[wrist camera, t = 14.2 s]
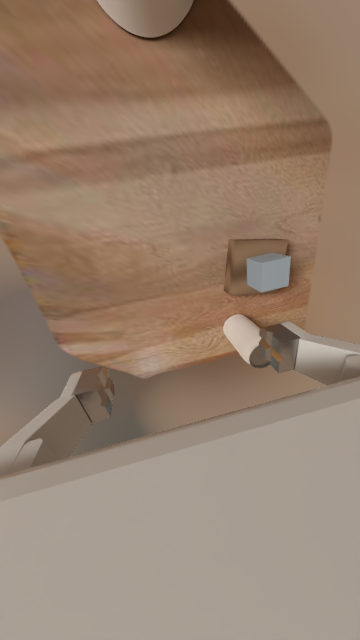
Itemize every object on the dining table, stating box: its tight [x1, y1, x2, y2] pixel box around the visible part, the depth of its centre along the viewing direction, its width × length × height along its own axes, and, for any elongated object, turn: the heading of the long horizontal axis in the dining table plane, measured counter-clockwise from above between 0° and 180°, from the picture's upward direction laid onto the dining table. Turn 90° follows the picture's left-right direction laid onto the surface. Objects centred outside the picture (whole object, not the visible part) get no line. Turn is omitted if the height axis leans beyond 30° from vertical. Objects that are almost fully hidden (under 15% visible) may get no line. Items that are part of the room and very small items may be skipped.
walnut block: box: [224, 239, 289, 296], centre depth 38 cm, size 10×10×4 cm
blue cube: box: [247, 253, 291, 293], centre depth 34 cm, size 5×5×5 cm
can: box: [223, 314, 271, 368], centre depth 40 cm, size 6×6×12 cm
